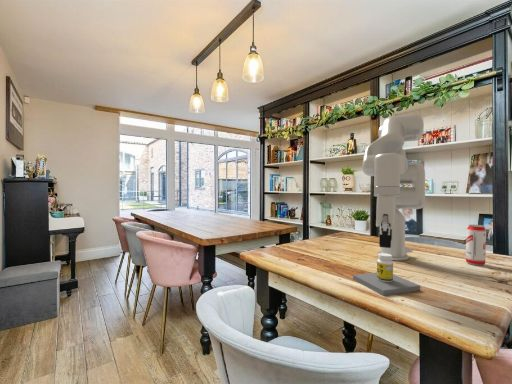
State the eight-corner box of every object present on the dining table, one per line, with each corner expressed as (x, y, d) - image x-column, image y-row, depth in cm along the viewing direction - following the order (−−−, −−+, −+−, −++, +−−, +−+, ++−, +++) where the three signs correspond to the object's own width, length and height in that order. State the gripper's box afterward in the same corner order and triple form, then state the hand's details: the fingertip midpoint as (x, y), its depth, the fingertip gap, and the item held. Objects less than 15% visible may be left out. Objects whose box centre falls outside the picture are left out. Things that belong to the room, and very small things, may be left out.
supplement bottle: (374, 277, 90) (374, 252, 90) (387, 277, 90) (387, 252, 90) (382, 282, 85) (382, 256, 85) (396, 282, 85) (396, 256, 85)
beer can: (482, 263, 112) (483, 225, 112) (487, 267, 106) (488, 227, 106) (463, 261, 115) (464, 224, 114) (468, 265, 109) (469, 226, 109)
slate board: (386, 275, 96) (386, 271, 96) (420, 290, 83) (420, 285, 83) (353, 279, 92) (353, 275, 92) (383, 295, 79) (383, 290, 79)
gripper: (376, 190, 96) (375, 237, 97) (371, 193, 81) (370, 249, 82) (399, 190, 93) (398, 239, 94) (399, 193, 77) (398, 252, 79)
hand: (385, 243), depth 88 cm, fingers open, 9 cm apart
